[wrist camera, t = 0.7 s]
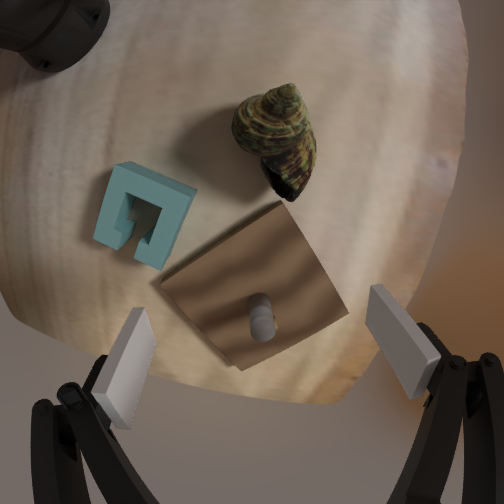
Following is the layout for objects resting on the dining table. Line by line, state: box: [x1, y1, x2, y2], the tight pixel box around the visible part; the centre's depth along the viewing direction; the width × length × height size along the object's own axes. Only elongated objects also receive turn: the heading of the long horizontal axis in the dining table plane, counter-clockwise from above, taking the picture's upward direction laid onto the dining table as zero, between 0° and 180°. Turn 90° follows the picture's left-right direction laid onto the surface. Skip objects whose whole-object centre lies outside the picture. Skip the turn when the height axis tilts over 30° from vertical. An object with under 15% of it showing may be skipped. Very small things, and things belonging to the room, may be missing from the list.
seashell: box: [231, 83, 316, 202], centre depth 29 cm, size 11×11×10 cm
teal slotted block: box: [93, 161, 197, 271], centre depth 33 cm, size 10×10×5 cm
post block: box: [160, 200, 349, 371], centre depth 37 cm, size 20×20×9 cm
